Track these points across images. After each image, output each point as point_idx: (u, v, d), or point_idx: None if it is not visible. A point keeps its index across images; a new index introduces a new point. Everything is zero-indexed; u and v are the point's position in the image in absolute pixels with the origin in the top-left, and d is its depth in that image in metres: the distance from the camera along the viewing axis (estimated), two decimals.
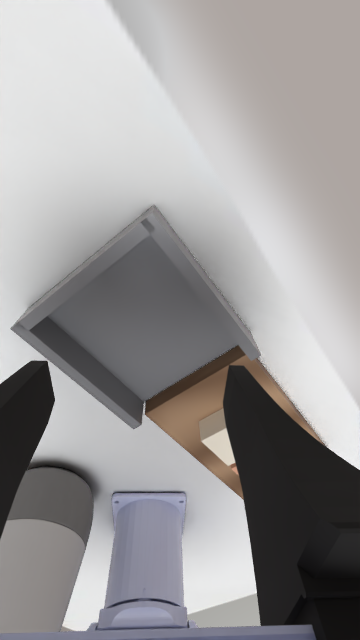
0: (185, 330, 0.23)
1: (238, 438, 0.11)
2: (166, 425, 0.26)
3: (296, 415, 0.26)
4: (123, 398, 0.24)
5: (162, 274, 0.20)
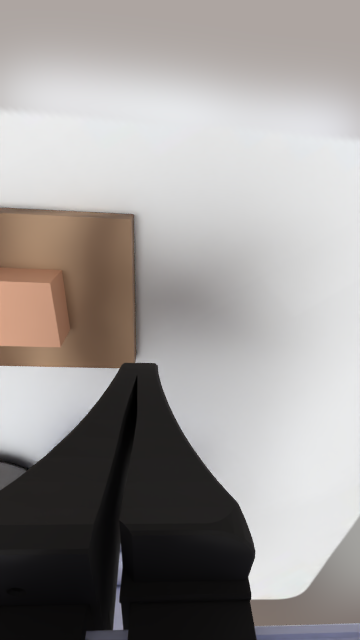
0: None
1: None
2: None
3: None
4: None
5: None
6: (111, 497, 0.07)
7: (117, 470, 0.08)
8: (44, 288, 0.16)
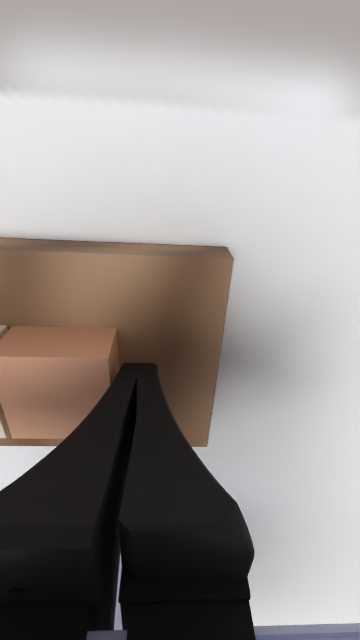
0: None
1: None
2: None
3: (8, 253, 0.10)
4: None
5: None
6: (112, 497, 0.07)
7: (118, 470, 0.08)
8: (99, 364, 0.10)
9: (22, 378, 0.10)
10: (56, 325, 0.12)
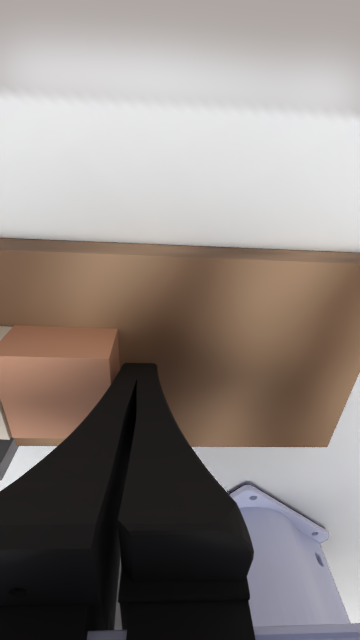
0: None
1: None
2: (58, 438, 0.15)
3: (193, 260, 0.11)
4: None
5: None
6: (112, 497, 0.07)
7: (118, 470, 0.08)
8: (99, 365, 0.10)
9: (23, 378, 0.11)
10: (218, 329, 0.12)
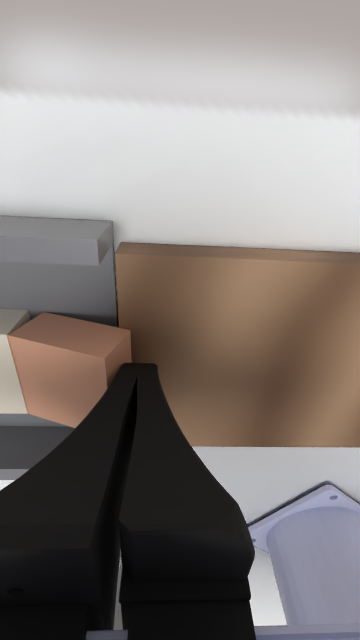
0: (30, 308, 0.13)
1: None
2: None
3: (341, 266, 0.11)
4: None
5: None
6: (112, 497, 0.07)
7: (117, 470, 0.08)
8: (96, 363, 0.10)
9: (34, 361, 0.11)
10: (348, 333, 0.12)
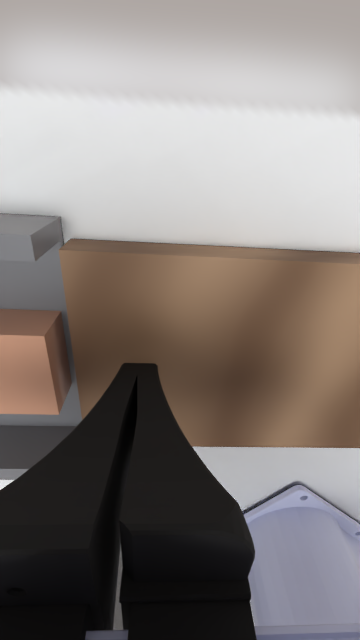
0: None
1: None
2: None
3: (290, 263, 0.11)
4: (30, 450, 0.15)
5: None
6: (111, 497, 0.07)
7: (117, 470, 0.08)
8: (36, 342, 0.11)
9: None
10: (303, 332, 0.12)
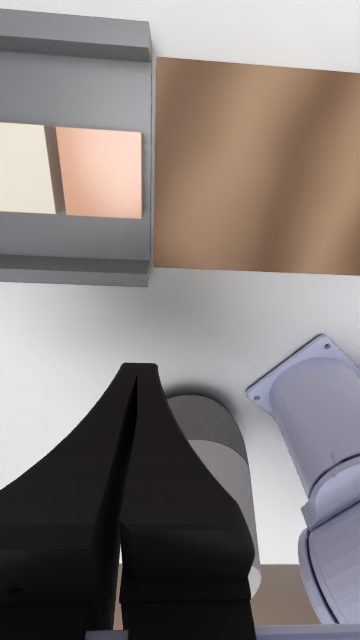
0: (83, 128, 0.16)
1: None
2: (189, 259, 0.18)
3: (329, 73, 0.14)
4: (110, 267, 0.18)
5: None
6: (111, 497, 0.07)
7: (117, 470, 0.08)
8: (134, 138, 0.15)
9: (79, 151, 0.15)
10: (336, 144, 0.16)
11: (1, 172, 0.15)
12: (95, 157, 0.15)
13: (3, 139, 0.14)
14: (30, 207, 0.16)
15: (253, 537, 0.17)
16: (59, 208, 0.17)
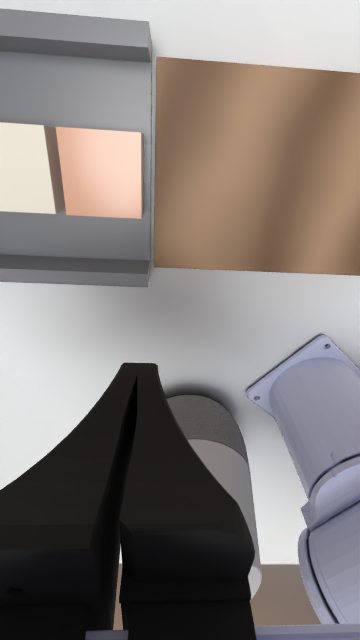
0: (83, 128, 0.16)
1: None
2: (189, 259, 0.18)
3: (329, 73, 0.14)
4: (110, 267, 0.18)
5: None
6: (111, 497, 0.07)
7: (117, 470, 0.08)
8: (134, 138, 0.15)
9: (79, 151, 0.15)
10: (336, 144, 0.16)
11: (1, 172, 0.15)
12: (95, 157, 0.15)
13: (3, 139, 0.14)
14: (30, 207, 0.16)
15: (253, 537, 0.17)
16: (59, 208, 0.17)
